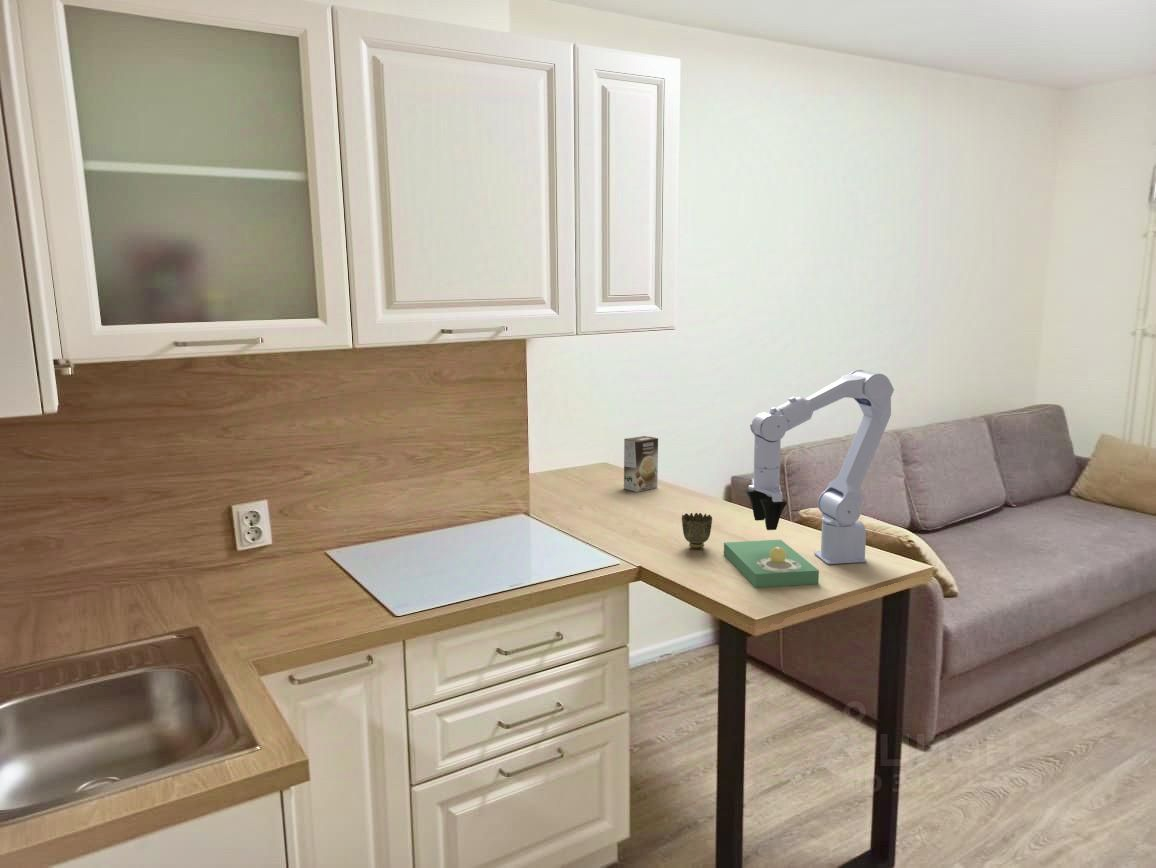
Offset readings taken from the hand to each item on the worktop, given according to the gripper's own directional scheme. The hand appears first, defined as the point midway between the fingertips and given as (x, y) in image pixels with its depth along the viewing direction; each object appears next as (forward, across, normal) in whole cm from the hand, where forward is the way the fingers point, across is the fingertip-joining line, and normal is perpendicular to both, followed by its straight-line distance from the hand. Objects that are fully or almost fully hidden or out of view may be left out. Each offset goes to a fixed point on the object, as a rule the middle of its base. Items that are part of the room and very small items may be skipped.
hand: (765, 524), depth 189 cm
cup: (+10, -14, -12) cm, 21 cm away
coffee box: (+10, -75, -13) cm, 77 cm away
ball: (+5, +7, 0) cm, 9 cm away
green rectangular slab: (+9, +3, 0) cm, 10 cm away
